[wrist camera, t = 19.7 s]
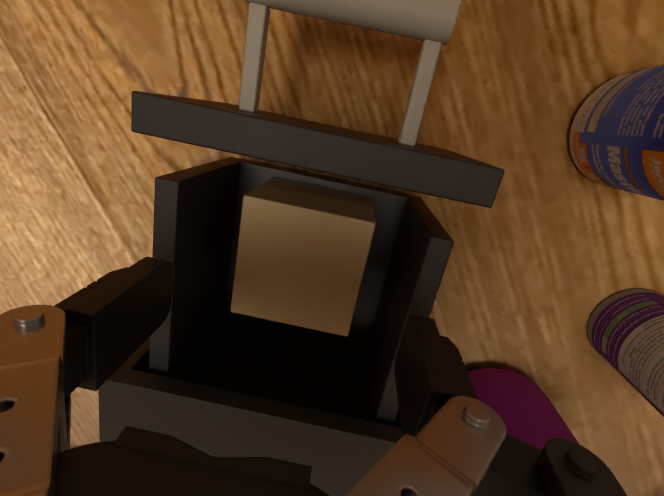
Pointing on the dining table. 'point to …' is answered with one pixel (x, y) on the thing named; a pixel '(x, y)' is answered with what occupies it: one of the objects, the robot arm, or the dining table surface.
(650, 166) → the pill bottle
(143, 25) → the dining table surface
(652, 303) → the container
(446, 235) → the sliding drawer
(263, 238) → the block
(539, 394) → the beverage can
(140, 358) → the black drawer box
